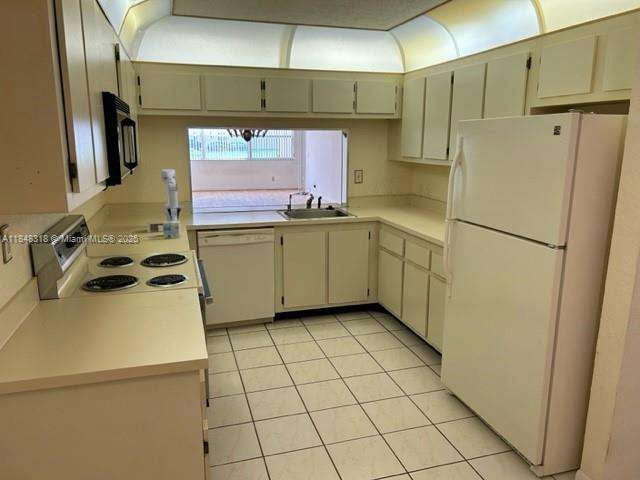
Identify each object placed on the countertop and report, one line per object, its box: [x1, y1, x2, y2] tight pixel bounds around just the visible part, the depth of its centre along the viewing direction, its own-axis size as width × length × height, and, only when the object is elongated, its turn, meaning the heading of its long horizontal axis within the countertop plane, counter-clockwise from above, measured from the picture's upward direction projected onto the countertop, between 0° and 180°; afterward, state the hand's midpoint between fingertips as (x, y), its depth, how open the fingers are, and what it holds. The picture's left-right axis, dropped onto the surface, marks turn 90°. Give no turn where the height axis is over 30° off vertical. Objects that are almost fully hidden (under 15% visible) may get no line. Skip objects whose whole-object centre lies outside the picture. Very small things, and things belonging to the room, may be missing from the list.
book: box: [157, 225, 164, 233], centre depth 340 cm, size 8×5×3 cm, turn 18°
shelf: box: [149, 222, 164, 234], centre depth 341 cm, size 12×18×6 cm
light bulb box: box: [162, 220, 181, 239], centre depth 325 cm, size 11×7×11 cm, turn 101°
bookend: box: [146, 218, 151, 234], centre depth 337 cm, size 10×2×8 cm, turn 18°
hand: (174, 219), depth 342 cm, fingers open, 4 cm apart
